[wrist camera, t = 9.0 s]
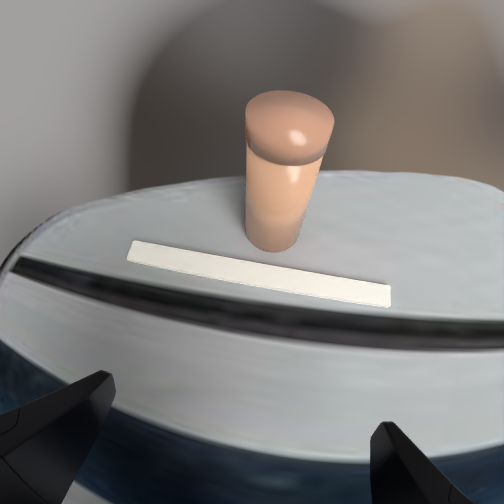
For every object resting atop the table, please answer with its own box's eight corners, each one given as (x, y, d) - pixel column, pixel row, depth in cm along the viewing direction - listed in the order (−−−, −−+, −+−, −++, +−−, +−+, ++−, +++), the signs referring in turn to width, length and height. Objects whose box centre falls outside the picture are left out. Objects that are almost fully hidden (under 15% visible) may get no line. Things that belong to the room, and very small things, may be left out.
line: (127, 261, 25) (126, 259, 25) (134, 242, 26) (133, 240, 25) (388, 307, 24) (390, 306, 23) (388, 287, 24) (390, 285, 24)
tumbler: (247, 256, 26) (252, 142, 14) (241, 208, 28) (241, 91, 16) (305, 250, 26) (346, 140, 14) (293, 203, 28) (319, 91, 17)
